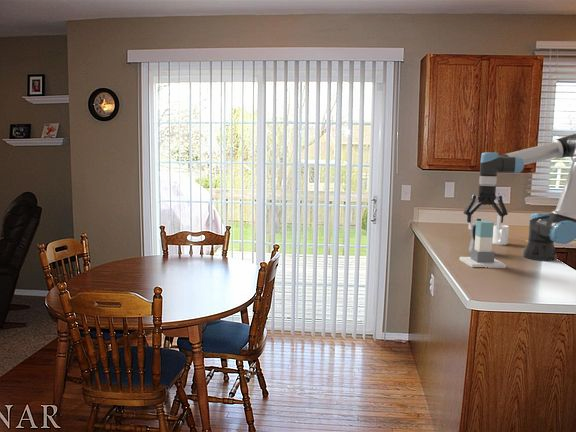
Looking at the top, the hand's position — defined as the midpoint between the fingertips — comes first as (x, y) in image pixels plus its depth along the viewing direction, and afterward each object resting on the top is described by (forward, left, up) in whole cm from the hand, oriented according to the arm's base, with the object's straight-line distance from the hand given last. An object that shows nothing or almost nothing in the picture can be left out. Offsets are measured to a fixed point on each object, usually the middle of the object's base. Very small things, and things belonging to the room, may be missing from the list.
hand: (484, 229), depth 234 cm
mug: (-31, -50, -17) cm, 61 cm away
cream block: (0, 0, -10) cm, 10 cm away
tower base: (0, 0, -17) cm, 17 cm away
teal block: (0, 0, -3) cm, 3 cm away
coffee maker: (-8, -27, -17) cm, 33 cm away
